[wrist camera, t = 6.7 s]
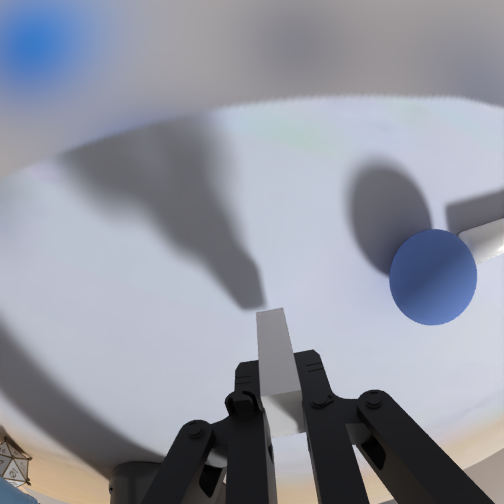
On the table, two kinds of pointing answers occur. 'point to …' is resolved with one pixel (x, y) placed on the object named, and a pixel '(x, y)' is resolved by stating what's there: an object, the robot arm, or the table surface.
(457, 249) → the ball
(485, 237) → the pin
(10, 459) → the game die
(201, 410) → the table surface
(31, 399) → the table surface
